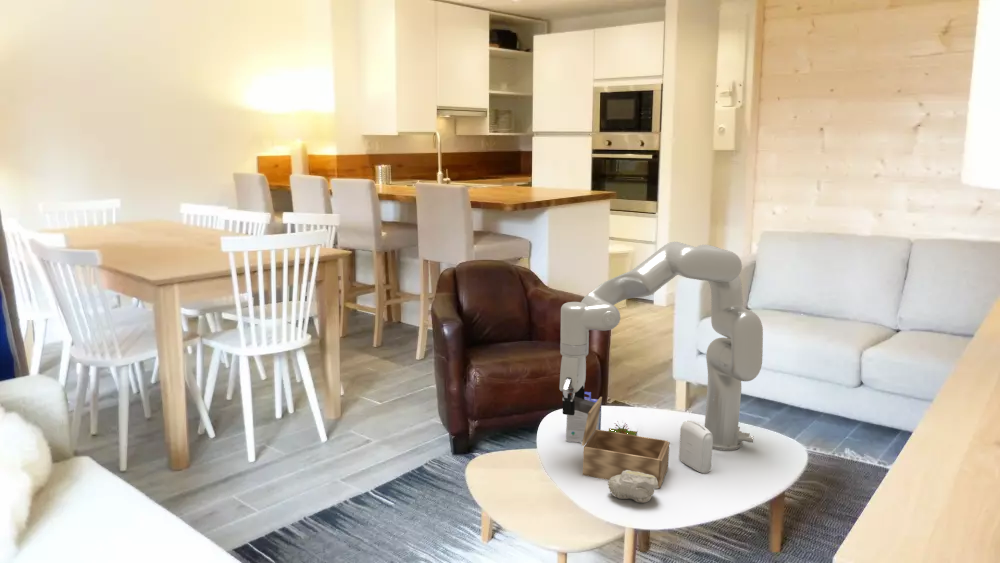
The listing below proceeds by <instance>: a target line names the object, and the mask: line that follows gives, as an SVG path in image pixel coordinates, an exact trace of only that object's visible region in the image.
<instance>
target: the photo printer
mask: <svg viewBox="0 0 1000 563" xmlns="http://www.w3.org/2000/svg"><path fill="white" fill-rule="evenodd" d="M680 425H681V426H680V434H679V450H678V452H679V453H678V460H679V461H680V462H681V463H683V464H685V465H686V466H688V467H690V468H691V469H693V470H695V471H696V472H699V473H701V474H707V473H709V472H710V471H711V470H712V461H713V459H712V458H713V448H712V446H713V435H712V433H711V432H710V431H709V430H708V429H707V428H706V427H705V425H703V424H701V423H700V422H697V421H695V420H686V421H683V422H682V424H680Z"/></svg>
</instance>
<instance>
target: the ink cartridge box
mask: <svg viewBox="0 0 1000 563" xmlns="http://www.w3.org/2000/svg"><path fill="white" fill-rule="evenodd" d="M584 395H587V396H584V399H585V400H588V401H592V402H595V403H596V402H597V400H598V399H599V398H598V399H597V398H592V392H591V391H585V392H584ZM587 417H588V414H587V413H583V412H580V411H577V410H575V414H574V415H566V427H565V428H566V429H565V430H566V431H565V432H566V433H565V435H566V436H565V441H566V442H570V443H572V442H573V443H581V444H582V442H583V437H584V432H585V427H586V422H587ZM601 427H602V405H601V406H600V411H599V416H598V421H597V426H596V429H597V430H602V428H601ZM596 429H595V430H596ZM593 433H594V432H593ZM591 436H592V435H591ZM589 439H590V438H589ZM589 439H588V440H589ZM587 442H588V441H587ZM587 442H586V443H587Z"/></svg>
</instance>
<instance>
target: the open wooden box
mask: <svg viewBox="0 0 1000 563" xmlns="http://www.w3.org/2000/svg"><path fill="white" fill-rule="evenodd" d="M669 456H670V442H669V441H668V440H665V439H659V438H652V437H647V436H641V435H640V436H639V435H637V436H635V435H629V434H622V433H616V432H610V431H609V430H603V429H600V430H597V429H596V430H595V431H594V433H593V434H592V436H591V437H590V439H589V440H588V442H587V443H586V444H585V445H584V446H583V456H582V457H583V458H582V476H585V477H590V478H595V479H602V480H605V481H606V480H607V481H609V479H610V478H611V477H614V476H616V475H621V474H622V472H623V471H625V470H631V471H635V472H640V473H644V474H649V475H653V476H655V477H656V478H657V481H658V486H659V488H657V489H656V490H658V489H661V488H662V485H663V482H664V480H665V477H666V474H667V472H668V469H669V460H670V458H669Z"/></svg>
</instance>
